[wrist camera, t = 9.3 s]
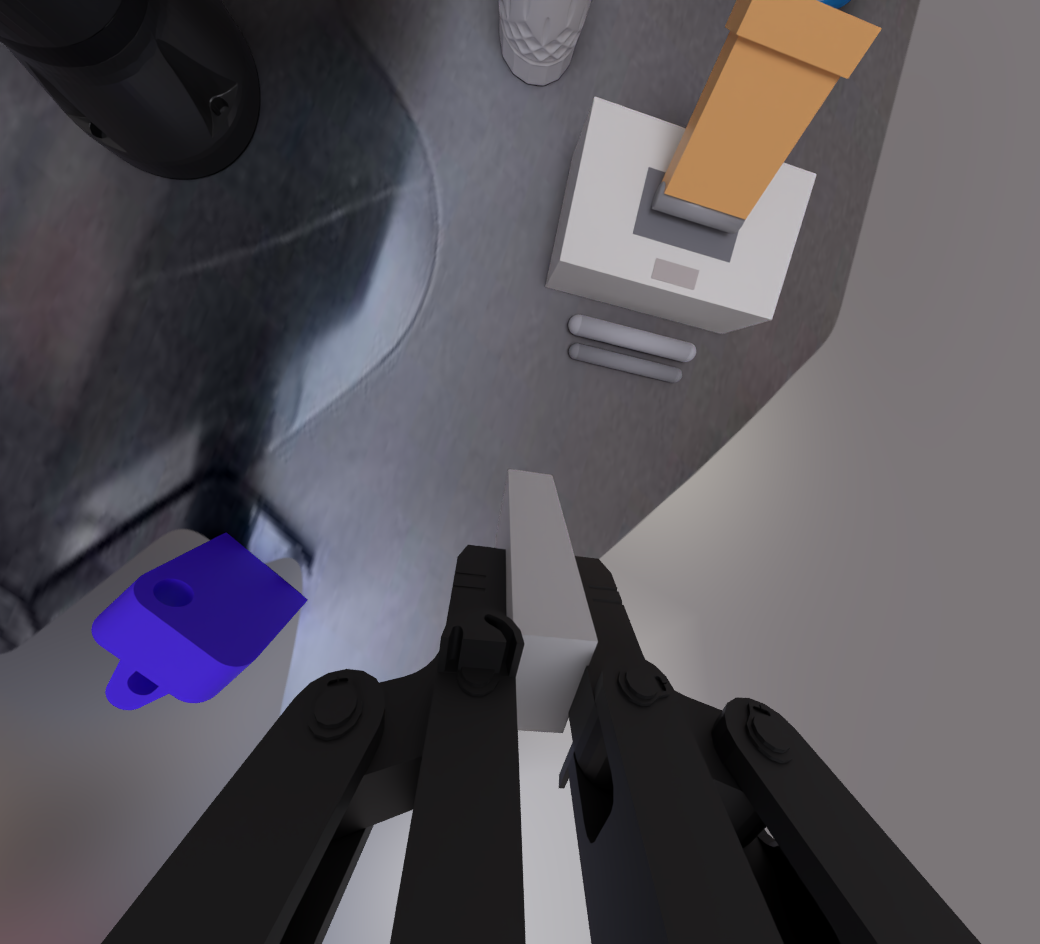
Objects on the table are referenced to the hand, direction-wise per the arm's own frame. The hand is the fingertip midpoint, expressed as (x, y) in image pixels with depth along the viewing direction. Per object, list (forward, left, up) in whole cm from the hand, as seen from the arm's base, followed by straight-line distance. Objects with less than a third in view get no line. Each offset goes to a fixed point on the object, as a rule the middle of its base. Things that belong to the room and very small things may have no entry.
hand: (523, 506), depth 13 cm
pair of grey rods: (-6, +16, -27) cm, 32 cm away
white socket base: (-15, +20, -27) cm, 37 cm away
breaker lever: (-15, +20, -19) cm, 31 cm away
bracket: (+12, -35, -28) cm, 46 cm away
